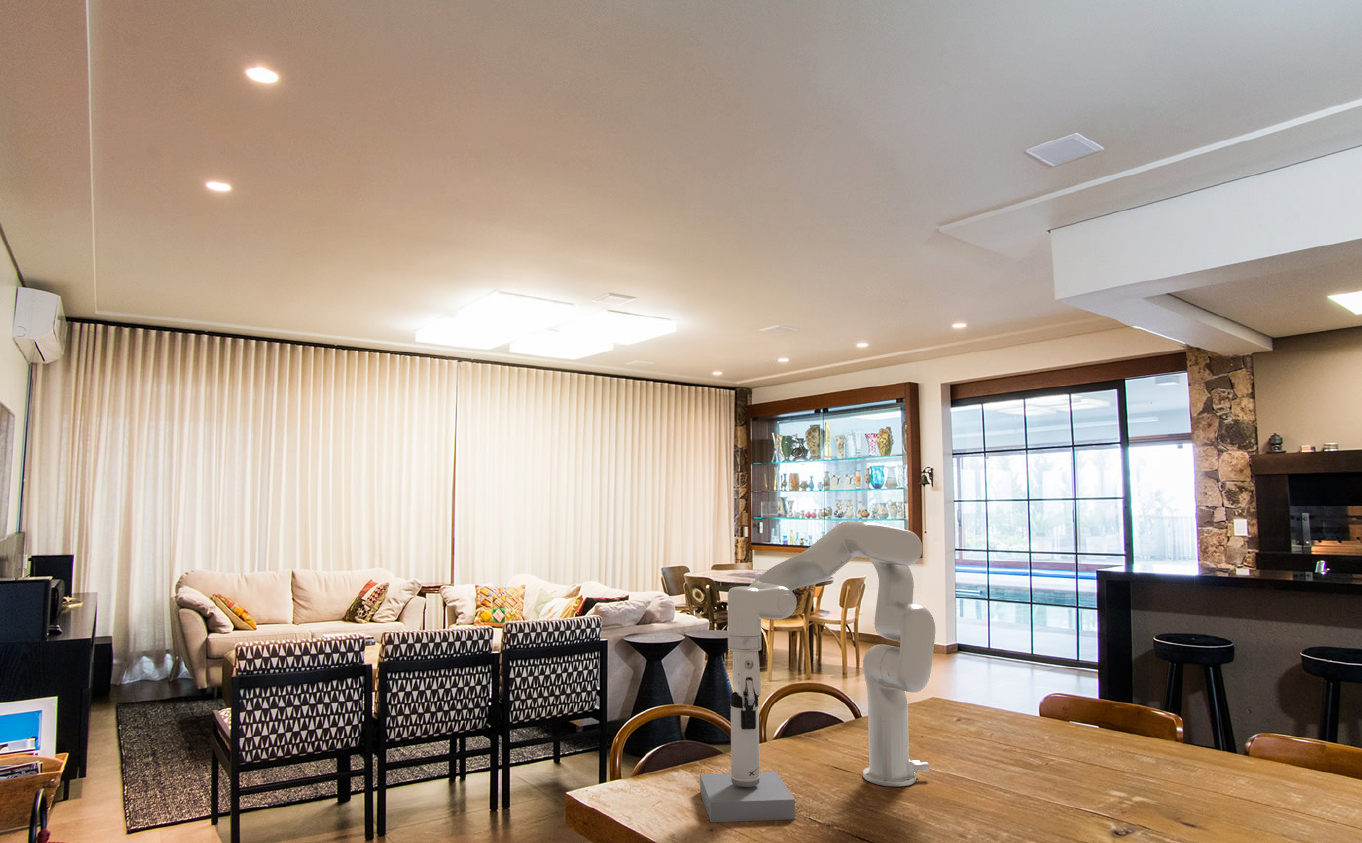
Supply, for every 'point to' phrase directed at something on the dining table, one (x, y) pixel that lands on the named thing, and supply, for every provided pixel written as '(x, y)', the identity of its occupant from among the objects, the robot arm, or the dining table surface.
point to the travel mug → (744, 746)
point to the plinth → (746, 798)
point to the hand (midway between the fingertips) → (745, 723)
